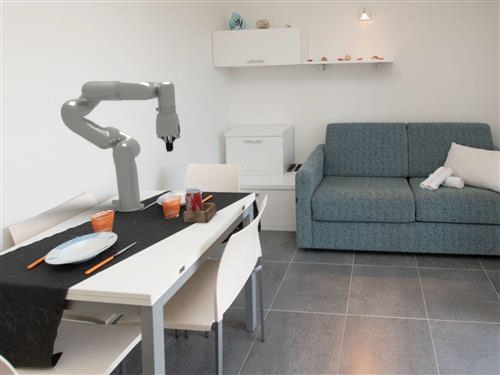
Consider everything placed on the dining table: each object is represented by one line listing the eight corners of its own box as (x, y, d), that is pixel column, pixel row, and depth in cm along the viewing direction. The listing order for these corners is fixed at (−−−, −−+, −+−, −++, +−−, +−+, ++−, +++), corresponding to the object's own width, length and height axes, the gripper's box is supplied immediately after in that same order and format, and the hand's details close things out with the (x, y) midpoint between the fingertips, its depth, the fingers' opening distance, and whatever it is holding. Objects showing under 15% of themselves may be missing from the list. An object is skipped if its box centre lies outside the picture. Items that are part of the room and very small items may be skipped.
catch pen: (184, 222, 210) (183, 211, 209) (194, 212, 224) (193, 203, 223) (207, 222, 208) (206, 212, 207) (216, 213, 222) (215, 203, 221)
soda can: (203, 220, 211) (201, 192, 209) (186, 221, 211) (184, 194, 208) (203, 215, 218) (201, 188, 216) (186, 217, 218) (184, 190, 215)
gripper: (148, 111, 222) (151, 152, 227) (179, 111, 219) (182, 152, 223) (155, 109, 229) (158, 149, 234) (186, 109, 226) (188, 150, 230)
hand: (169, 151), depth 228 cm, fingers closed
